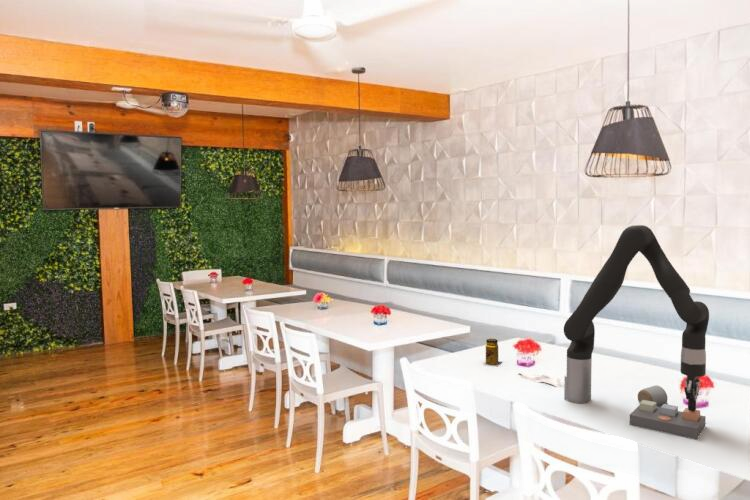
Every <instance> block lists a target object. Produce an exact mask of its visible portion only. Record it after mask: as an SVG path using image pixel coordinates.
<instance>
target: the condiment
mask: <svg viewBox="0 0 750 500" xmlns="http://www.w3.org/2000/svg"><path fill="white" fill-rule="evenodd" d="M485 343H486V344H485V362H484V363H483V365H485V366H492V367H493V366H494V367H495V366H496V367H499V366H501V365H500V364H502V363H503V361H501V360H500V361H499V344H498V339H496V338H487V339H486V342H485Z"/></svg>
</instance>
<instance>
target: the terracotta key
mask: <svg viewBox="0 0 750 500" xmlns="http://www.w3.org/2000/svg"><path fill="white" fill-rule="evenodd" d="M682 412H683V419H687V420H692V421H697V422H698V421H699V420H700V415H701V410H699V409H696V410H695V411H690V410H688V407H685V408H684V410H683V411H682Z"/></svg>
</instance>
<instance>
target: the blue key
mask: <svg viewBox="0 0 750 500" xmlns="http://www.w3.org/2000/svg"><path fill="white" fill-rule="evenodd" d="M660 408H661V414H662V415H667V416H672V417H676V416H677V415H678V411H679V407H678V405H672V404H669V403H668V404H663V405H662V406H660Z"/></svg>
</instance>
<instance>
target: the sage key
mask: <svg viewBox="0 0 750 500" xmlns="http://www.w3.org/2000/svg"><path fill="white" fill-rule="evenodd" d="M638 406H639V410H642V411H647V412H652V413H654V412H655V411H656V402H652V401H647V400H642V401H641V402H640V403H639V405H638Z"/></svg>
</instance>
